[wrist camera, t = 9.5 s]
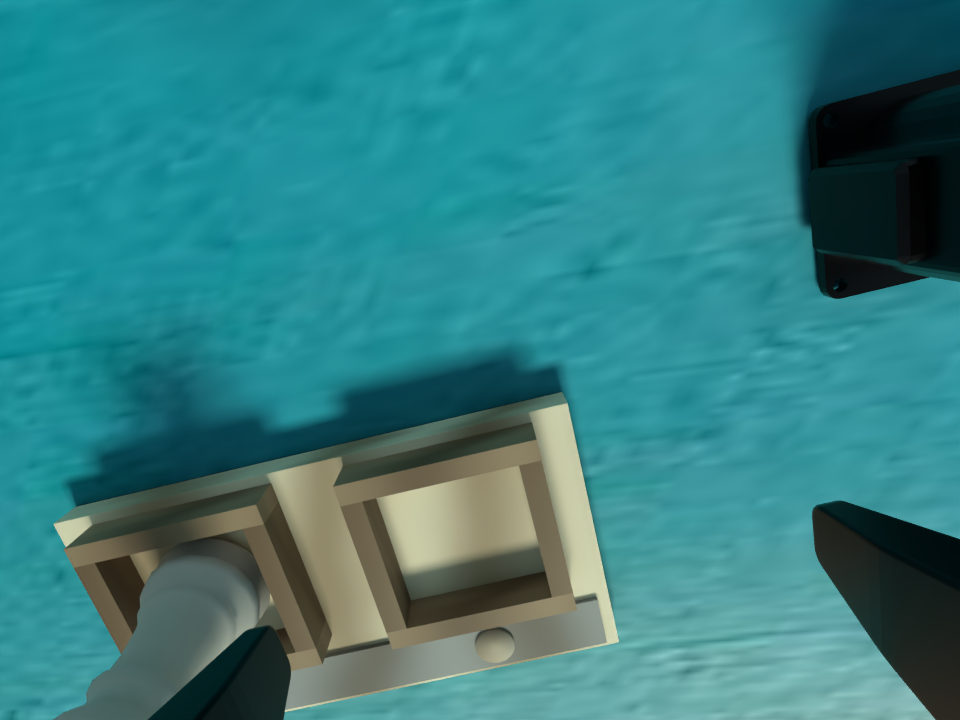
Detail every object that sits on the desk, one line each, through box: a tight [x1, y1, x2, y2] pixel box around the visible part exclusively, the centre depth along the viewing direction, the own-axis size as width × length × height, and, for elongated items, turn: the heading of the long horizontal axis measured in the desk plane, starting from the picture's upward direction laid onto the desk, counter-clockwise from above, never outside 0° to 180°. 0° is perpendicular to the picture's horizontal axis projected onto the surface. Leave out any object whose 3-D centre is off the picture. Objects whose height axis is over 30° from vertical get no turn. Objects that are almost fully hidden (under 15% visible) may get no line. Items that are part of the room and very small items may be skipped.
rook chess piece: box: [53, 538, 270, 720], centre depth 18 cm, size 4×4×8 cm
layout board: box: [54, 392, 619, 712], centre depth 21 cm, size 20×11×3 cm, turn 104°
